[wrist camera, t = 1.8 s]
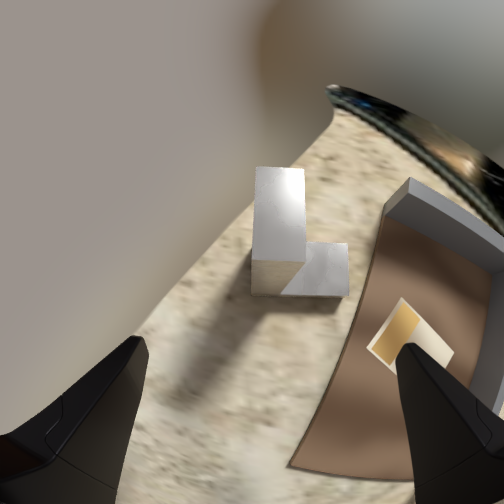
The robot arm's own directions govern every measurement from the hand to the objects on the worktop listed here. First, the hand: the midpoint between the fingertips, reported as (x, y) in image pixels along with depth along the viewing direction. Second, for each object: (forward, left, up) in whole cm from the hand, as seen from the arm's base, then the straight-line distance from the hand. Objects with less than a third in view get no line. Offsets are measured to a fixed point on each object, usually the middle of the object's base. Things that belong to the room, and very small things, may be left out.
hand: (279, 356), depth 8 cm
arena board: (+3, -15, -12) cm, 19 cm away
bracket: (+6, -1, -12) cm, 13 cm away
